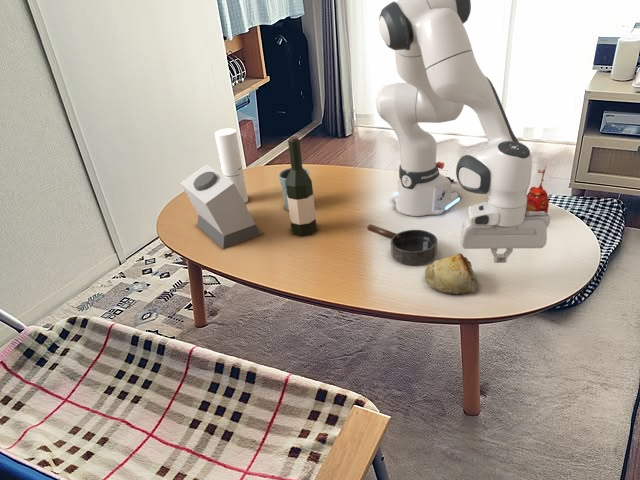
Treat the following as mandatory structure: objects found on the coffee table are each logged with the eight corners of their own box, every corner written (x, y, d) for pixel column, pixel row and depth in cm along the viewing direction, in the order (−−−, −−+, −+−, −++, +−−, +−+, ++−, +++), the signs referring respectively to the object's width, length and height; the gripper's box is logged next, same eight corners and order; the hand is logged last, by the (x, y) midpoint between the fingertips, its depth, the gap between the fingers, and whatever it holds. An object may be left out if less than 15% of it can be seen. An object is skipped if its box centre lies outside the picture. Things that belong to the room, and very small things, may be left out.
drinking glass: (294, 215, 189) (290, 181, 182) (277, 206, 195) (272, 173, 188) (318, 205, 193) (314, 171, 186) (300, 196, 200) (296, 164, 193)
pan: (410, 239, 169) (410, 225, 166) (445, 252, 161) (446, 238, 158) (381, 256, 162) (381, 243, 160) (417, 271, 154) (418, 257, 152)
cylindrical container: (252, 198, 203) (240, 129, 188) (239, 206, 198) (226, 136, 183) (236, 195, 206) (223, 127, 191) (224, 203, 201) (210, 134, 186)
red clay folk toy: (517, 215, 175) (523, 169, 166) (530, 207, 178) (536, 162, 169) (539, 223, 170) (547, 176, 161) (552, 214, 173) (560, 168, 164)
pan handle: (365, 230, 170) (365, 225, 169) (370, 228, 171) (370, 222, 170) (396, 242, 163) (396, 236, 162) (401, 239, 164) (401, 233, 163)
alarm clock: (260, 234, 180) (250, 174, 168) (216, 251, 174) (202, 189, 162) (233, 213, 194) (221, 156, 182) (191, 227, 188) (176, 170, 176)
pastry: (488, 286, 146) (490, 259, 141) (452, 303, 141) (453, 276, 136) (450, 264, 156) (451, 238, 151) (415, 280, 151) (416, 254, 146)
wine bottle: (314, 236, 175) (304, 142, 157) (288, 236, 177) (275, 142, 159) (319, 224, 182) (310, 132, 164) (294, 224, 184) (282, 132, 166)
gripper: (549, 205, 135) (540, 255, 143) (462, 206, 138) (458, 255, 146) (554, 217, 130) (545, 268, 138) (463, 218, 133) (460, 268, 142)
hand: (500, 261), depth 142 cm, fingers closed
